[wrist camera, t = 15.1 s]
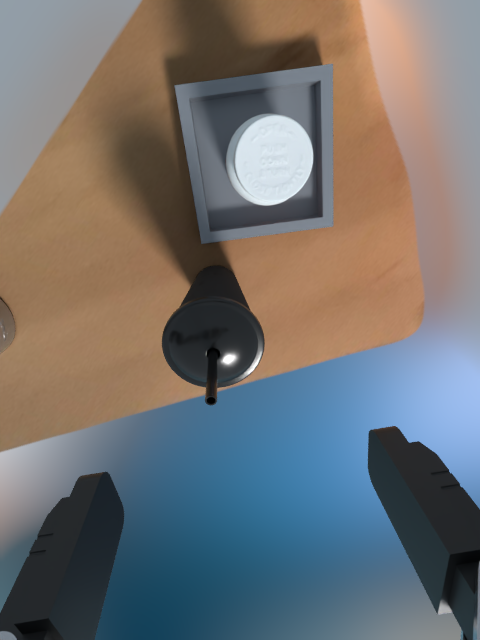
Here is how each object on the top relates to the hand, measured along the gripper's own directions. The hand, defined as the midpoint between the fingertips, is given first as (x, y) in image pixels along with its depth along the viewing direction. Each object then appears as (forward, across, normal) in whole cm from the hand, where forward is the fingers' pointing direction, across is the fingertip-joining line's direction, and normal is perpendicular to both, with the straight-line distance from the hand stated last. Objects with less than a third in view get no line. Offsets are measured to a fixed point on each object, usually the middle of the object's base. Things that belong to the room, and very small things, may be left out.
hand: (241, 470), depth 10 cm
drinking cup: (+28, +1, +3) cm, 29 cm away
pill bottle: (+28, -5, -8) cm, 29 cm away
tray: (+28, -5, -8) cm, 30 cm away
